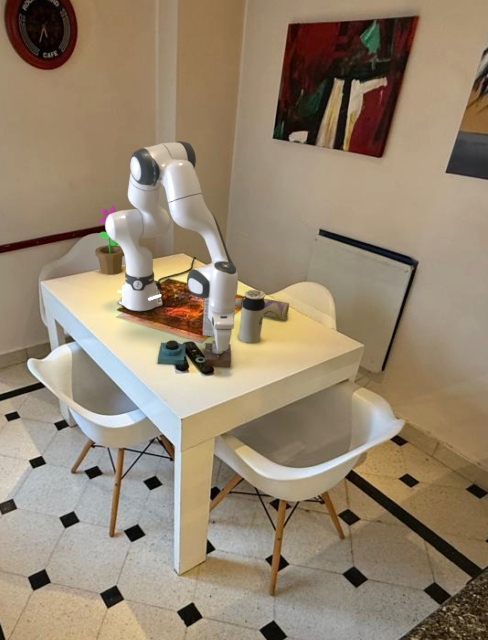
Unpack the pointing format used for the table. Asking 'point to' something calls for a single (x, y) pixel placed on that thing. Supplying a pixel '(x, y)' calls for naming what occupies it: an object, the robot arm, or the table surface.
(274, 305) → the decorative bottle
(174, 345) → the button
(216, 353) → the dial knob
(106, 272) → the flowerpot
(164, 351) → the button box
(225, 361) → the dial panel
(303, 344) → the table surface
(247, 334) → the travel mug
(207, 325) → the candy bar box
